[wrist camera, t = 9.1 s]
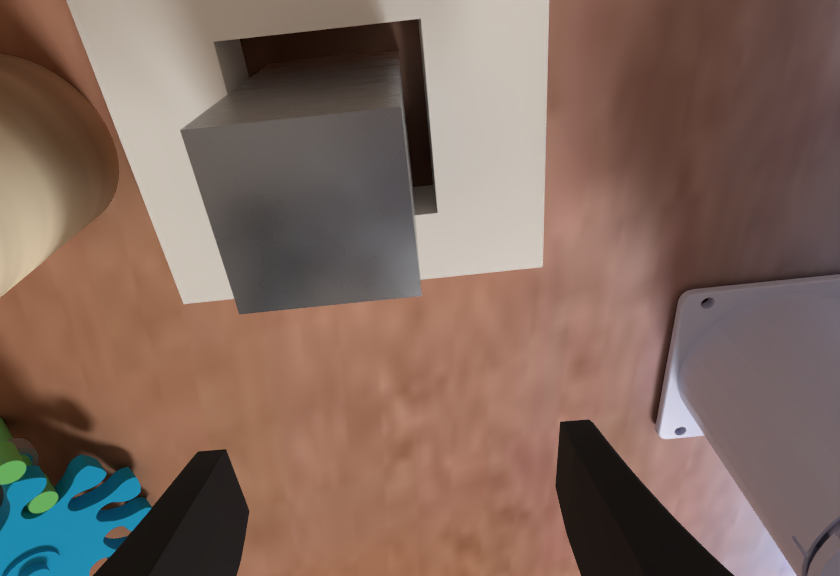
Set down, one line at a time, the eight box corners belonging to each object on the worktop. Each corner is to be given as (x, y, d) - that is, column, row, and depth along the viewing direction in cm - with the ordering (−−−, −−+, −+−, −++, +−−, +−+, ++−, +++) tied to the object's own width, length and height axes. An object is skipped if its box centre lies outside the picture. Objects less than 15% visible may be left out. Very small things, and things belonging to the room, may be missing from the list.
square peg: (398, 49, 16) (400, 106, 10) (412, 174, 18) (421, 295, 12) (269, 62, 16) (179, 129, 10) (297, 186, 19) (239, 314, 12)
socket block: (529, -96, 15) (551, -107, 12) (526, 234, 20) (542, 266, 18) (97, -46, 15) (47, -49, 13) (206, 267, 20) (183, 303, 18)
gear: (152, 593, 28) (-116, 746, 20) (105, 520, 31) (-142, 628, 23) (165, 421, 24) (-166, 531, 16) (109, 357, 27) (-189, 423, 19)
